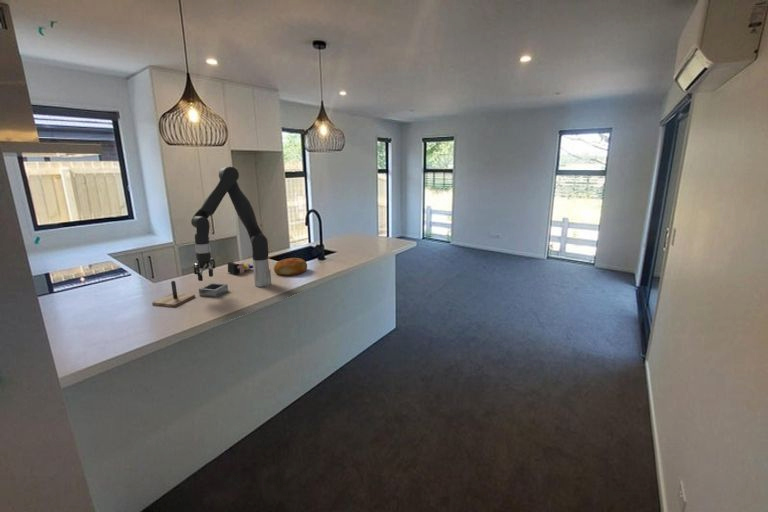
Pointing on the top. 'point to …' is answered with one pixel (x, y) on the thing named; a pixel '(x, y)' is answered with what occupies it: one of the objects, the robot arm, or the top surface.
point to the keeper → (173, 298)
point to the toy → (238, 267)
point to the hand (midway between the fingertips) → (206, 278)
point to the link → (213, 289)
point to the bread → (290, 266)
